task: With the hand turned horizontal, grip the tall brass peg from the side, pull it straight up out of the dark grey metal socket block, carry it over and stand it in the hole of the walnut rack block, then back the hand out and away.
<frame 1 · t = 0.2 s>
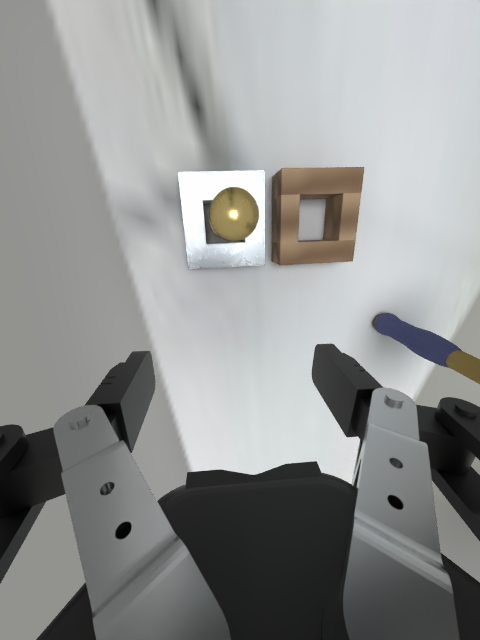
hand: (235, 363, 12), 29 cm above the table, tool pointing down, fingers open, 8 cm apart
brass peg: (227, 220, 28), in the socket block
rubber mallet: (379, 320, 45), on the table
socket block: (223, 223, 36), on the table
rack block: (306, 220, 37), on the table
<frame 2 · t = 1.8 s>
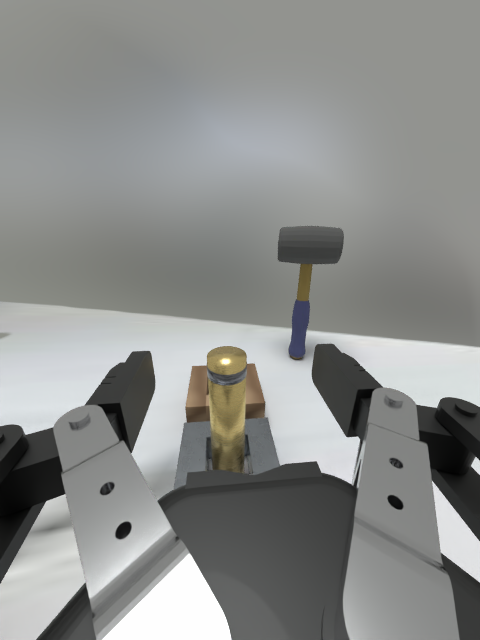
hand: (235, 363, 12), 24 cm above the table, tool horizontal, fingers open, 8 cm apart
brass peg: (227, 423, 28), in the socket block
rubber mallet: (296, 357, 59), on the table
socket block: (228, 476, 31), on the table
rack block: (225, 405, 43), on the table
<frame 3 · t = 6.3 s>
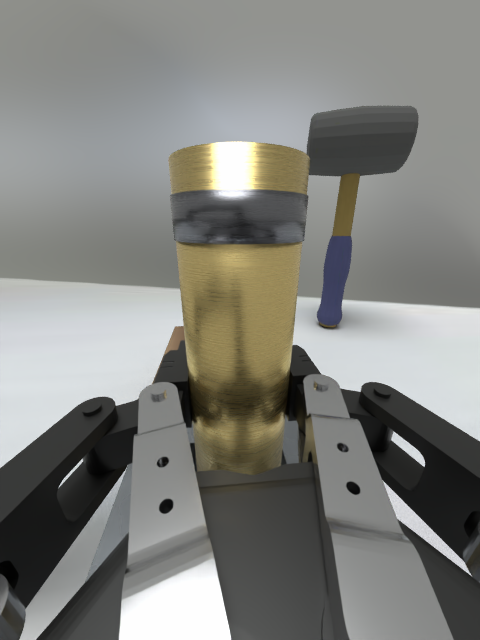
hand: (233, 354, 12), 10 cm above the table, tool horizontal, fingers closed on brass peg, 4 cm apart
brass peg: (238, 407, 10), in the socket block, touching gripper
rubber mallet: (327, 326, 42), on the table
socket block: (238, 531, 14), on the table
rack block: (228, 387, 26), on the table
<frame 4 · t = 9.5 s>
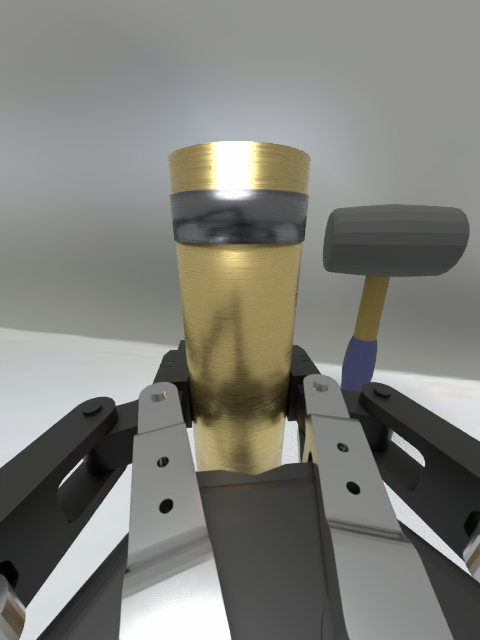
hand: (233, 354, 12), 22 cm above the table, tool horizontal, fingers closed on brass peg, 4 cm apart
brass peg: (238, 407, 10), point 21 cm above the table, touching gripper
rubber mallet: (345, 425, 36), on the table
when the fingers open (11 cm above the table, at t = 12.6 s): brass peg drops 1 cm, resting in rack block.
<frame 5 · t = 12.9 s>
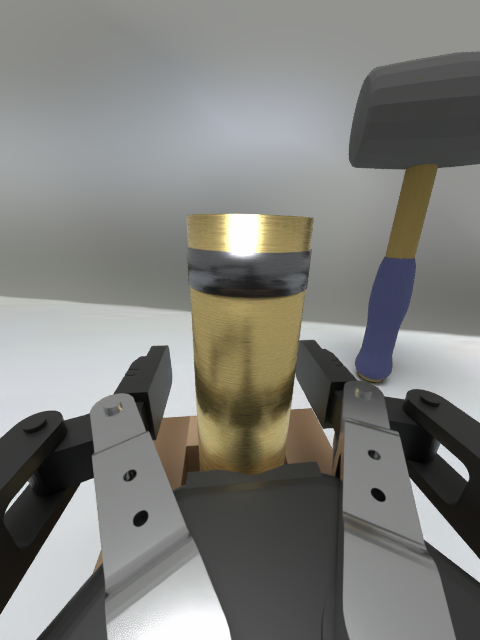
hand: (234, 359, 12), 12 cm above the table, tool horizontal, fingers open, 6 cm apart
brass peg: (242, 431, 11), in the rack block
rubber mallet: (369, 378, 30), on the table
rack block: (238, 546, 14), on the table
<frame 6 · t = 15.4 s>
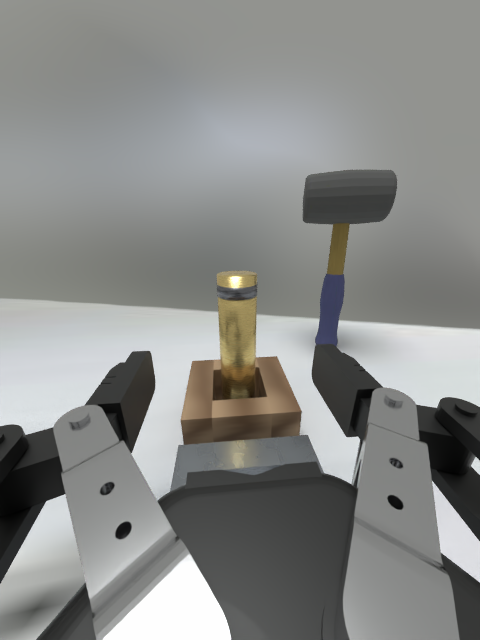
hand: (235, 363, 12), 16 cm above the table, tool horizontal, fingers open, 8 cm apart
brass peg: (237, 353, 27), in the rack block
rubber mallet: (324, 350, 46), on the table
socket block: (251, 537, 19), on the table
rack block: (238, 414, 31), on the table
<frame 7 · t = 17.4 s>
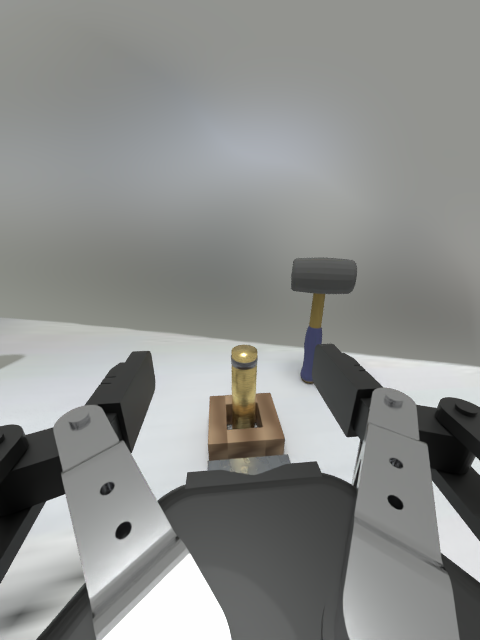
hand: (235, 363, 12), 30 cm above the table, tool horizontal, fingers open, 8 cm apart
brass peg: (243, 397, 41), in the rack block
rubber mallet: (307, 380, 60), on the table
socket block: (253, 516, 32), on the table
rack block: (243, 436, 44), on the table
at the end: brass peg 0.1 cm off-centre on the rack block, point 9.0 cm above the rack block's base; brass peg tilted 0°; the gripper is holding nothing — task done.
